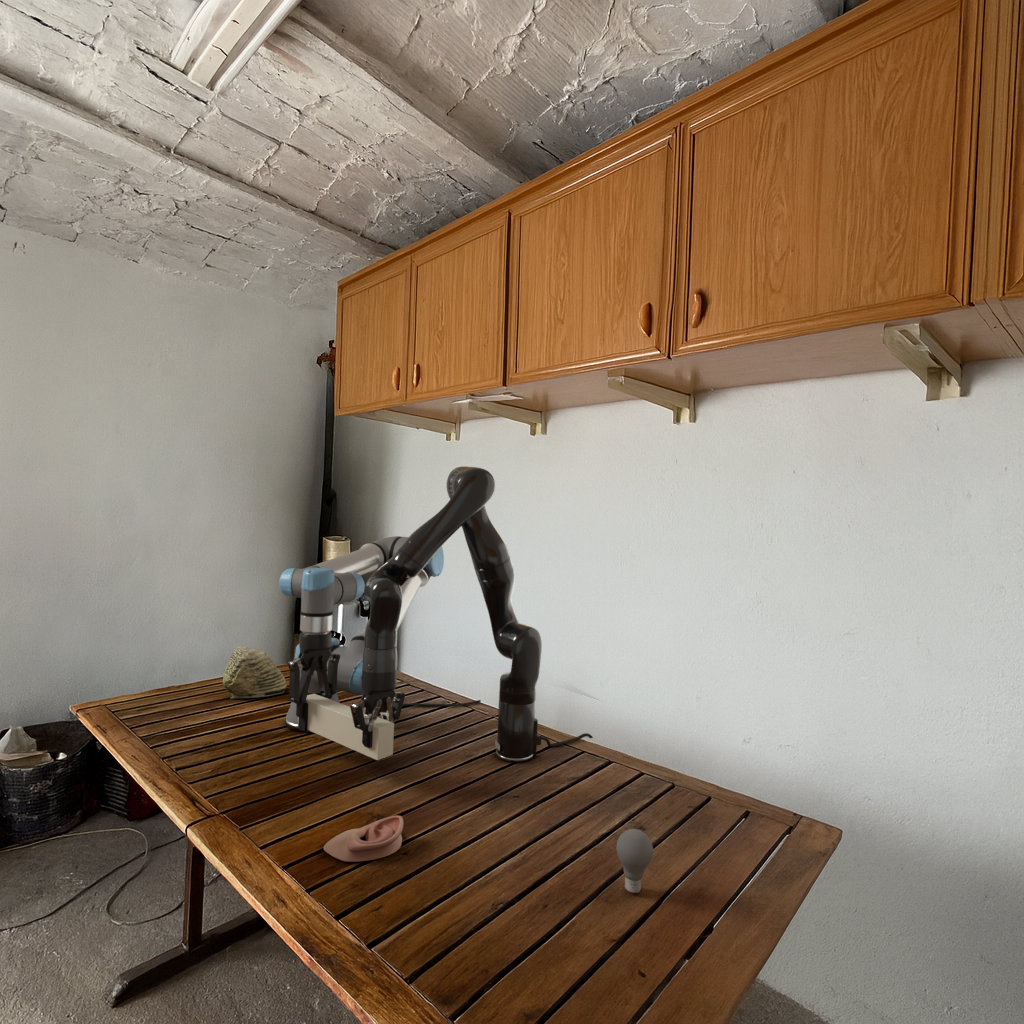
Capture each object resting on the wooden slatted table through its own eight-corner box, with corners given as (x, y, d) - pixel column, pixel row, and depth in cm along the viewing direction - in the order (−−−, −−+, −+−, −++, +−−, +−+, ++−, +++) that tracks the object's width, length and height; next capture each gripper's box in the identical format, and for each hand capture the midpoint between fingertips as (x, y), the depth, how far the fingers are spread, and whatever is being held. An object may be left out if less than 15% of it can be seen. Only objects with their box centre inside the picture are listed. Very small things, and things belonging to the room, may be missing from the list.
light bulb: (610, 879, 108) (613, 822, 108) (644, 879, 109) (647, 822, 109) (619, 902, 102) (622, 840, 102) (655, 901, 103) (658, 840, 103)
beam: (297, 725, 155) (298, 697, 155) (313, 721, 158) (314, 693, 158) (377, 760, 136) (378, 728, 136) (393, 754, 140) (394, 723, 140)
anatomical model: (315, 834, 111) (345, 804, 122) (314, 856, 111) (344, 824, 123) (386, 846, 109) (410, 814, 120) (385, 869, 109) (409, 834, 120)
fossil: (218, 695, 195) (220, 647, 195) (278, 685, 208) (279, 640, 207) (228, 703, 189) (230, 653, 188) (289, 692, 201) (290, 645, 201)
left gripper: (336, 625, 164) (332, 714, 164) (274, 634, 150) (270, 732, 150) (354, 629, 159) (350, 722, 159) (292, 639, 145) (288, 740, 146)
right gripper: (393, 658, 147) (390, 731, 148) (342, 669, 136) (339, 748, 136) (415, 664, 143) (412, 739, 143) (364, 676, 132) (361, 758, 132)
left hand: (312, 726), depth 155 cm, fingers closed on beam, 4 cm apart
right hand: (376, 743), depth 140 cm, fingers closed on beam, 4 cm apart
